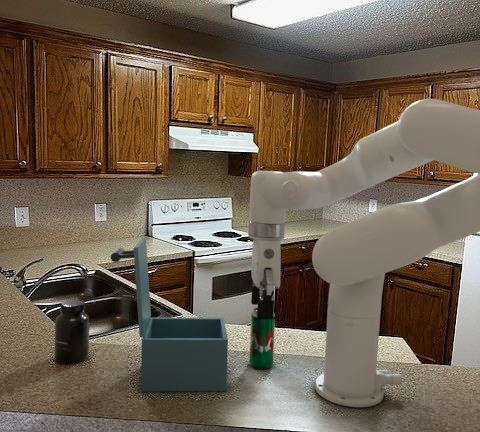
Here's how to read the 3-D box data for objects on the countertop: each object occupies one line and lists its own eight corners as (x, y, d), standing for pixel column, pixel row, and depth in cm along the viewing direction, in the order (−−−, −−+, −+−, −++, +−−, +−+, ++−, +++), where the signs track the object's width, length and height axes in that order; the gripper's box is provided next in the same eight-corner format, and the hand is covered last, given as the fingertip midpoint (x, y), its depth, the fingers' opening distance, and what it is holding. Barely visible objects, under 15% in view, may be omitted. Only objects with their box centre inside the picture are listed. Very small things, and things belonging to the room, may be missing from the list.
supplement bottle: (52, 365, 92) (52, 308, 91) (57, 352, 98) (57, 298, 97) (87, 363, 93) (88, 306, 92) (90, 350, 100) (90, 297, 99)
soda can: (271, 360, 99) (274, 306, 97) (274, 370, 93) (276, 313, 92) (248, 359, 98) (250, 306, 97) (249, 369, 93) (252, 313, 92)
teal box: (222, 362, 96) (223, 317, 95) (226, 390, 84) (227, 339, 83) (148, 362, 95) (149, 317, 94) (140, 391, 82) (141, 339, 81)
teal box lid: (145, 237, 92) (117, 238, 92) (137, 247, 80) (105, 249, 79) (151, 315, 94) (123, 317, 93) (144, 337, 81) (112, 339, 81)
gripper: (293, 238, 85) (287, 326, 87) (276, 226, 102) (272, 299, 104) (253, 236, 84) (248, 325, 86) (244, 224, 102) (239, 299, 103)
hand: (261, 311), depth 95 cm, fingers open, 9 cm apart
